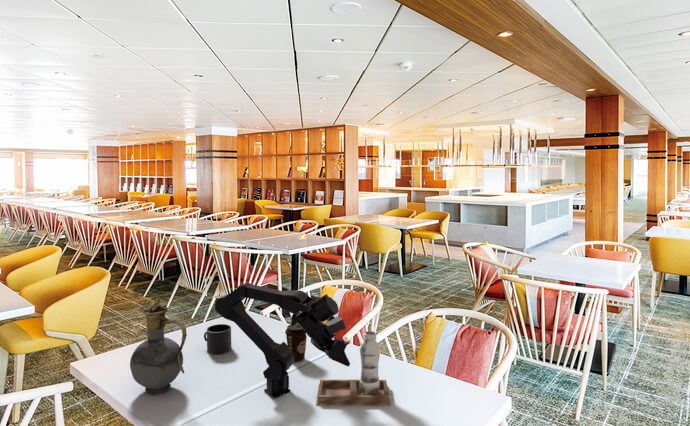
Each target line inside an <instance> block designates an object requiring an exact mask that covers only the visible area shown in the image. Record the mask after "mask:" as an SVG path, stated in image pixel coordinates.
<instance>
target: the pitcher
mask: <svg viewBox="0 0 690 426" xmlns="http://www.w3.org/2000/svg"><path fill="white" fill-rule="evenodd" d="M163 302H164V300H162V299H159V300H158V299H157V301H152V302H151V303H150V304H149V305H145V306H142V307H139V308H137V310H138V311H140V312H142V314H144V315H145V316H146V329H147V339H146V340H144V341H143V342H141V343H140V344H139V345H138V346H137V347H136V348H135V349H134V351H133V352H132V355H131V357H130V361H129V368H130V372H131V375H132V378H133V380H134V381H135V382H136V383H137V384H138V385H140V386H142V387H144V388H145V392H146V393H147V394H150V395H160V393H161V394H164V393H166V392H168V391H169V390H170V389H171V387H172V385H171V383H172V382H174V380H176V378H177V377H178V376H179V374H180V372H181V373H182V374H183V375H185V370H184V367H183V364H184V356H183V352H182V350H183V347H184V346H185V343H186V340H187V336H188V335H187V328H186V325H185V324H184V322H182V320H180V319H178V318H175V317H170V318H167V317H166V313H167V312H168V309H169V308H170V307H169V306H161V303H163ZM167 324H176V325H177V326H178V327H179V328H180V331H181V334H182V337H181V343H180V345H179V344H178V343H177V342H176V340H175V341H174V340H173V339H171V338H169V337H165V326H166V325H167ZM167 390H168V391H167ZM163 392H164V393H163Z"/></svg>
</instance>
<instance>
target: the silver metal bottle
mask: <svg viewBox="0 0 690 426" xmlns="http://www.w3.org/2000/svg"><path fill="white" fill-rule="evenodd" d="M363 335H364V336H363V340H364V341H363V342H362V343H361V345H360V347H359V353H360V355H359V356H360V365H361V373H360V379H359V380H360V384H359V388H360V391H361V393H362V394H363V395H376V394H377V393H378V392H379V389H380V382H379V380H380V379H379V378H380V377H379V364H380V363H379V361H380V355H381V347H380V345H379V343H378V342H377V333H376V332H375V331H371V330H369V331H365V332H364V334H363Z"/></svg>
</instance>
